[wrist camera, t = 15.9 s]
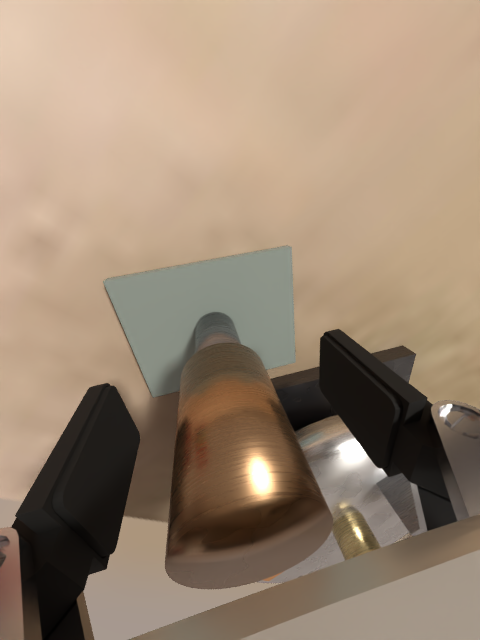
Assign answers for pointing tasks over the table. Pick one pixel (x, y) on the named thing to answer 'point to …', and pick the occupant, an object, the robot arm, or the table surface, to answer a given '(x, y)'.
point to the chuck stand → (309, 402)
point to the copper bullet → (237, 471)
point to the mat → (206, 310)
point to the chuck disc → (352, 498)
